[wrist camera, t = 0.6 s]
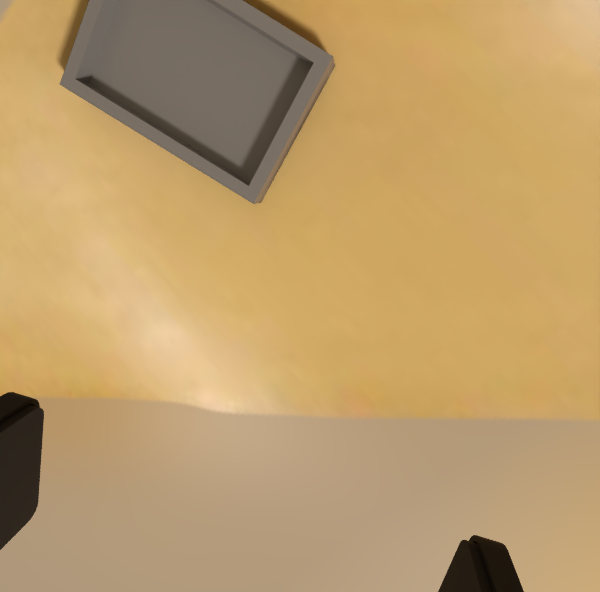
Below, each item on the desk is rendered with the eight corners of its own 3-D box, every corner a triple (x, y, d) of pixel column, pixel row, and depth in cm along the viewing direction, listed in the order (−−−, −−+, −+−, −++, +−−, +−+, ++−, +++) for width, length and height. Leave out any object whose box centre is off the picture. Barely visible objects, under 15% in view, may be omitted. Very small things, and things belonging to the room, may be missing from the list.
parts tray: (135, -59, 32) (116, -78, 30) (335, 65, 32) (332, 56, 30) (79, 91, 36) (59, 84, 33) (260, 202, 36) (253, 203, 34)
